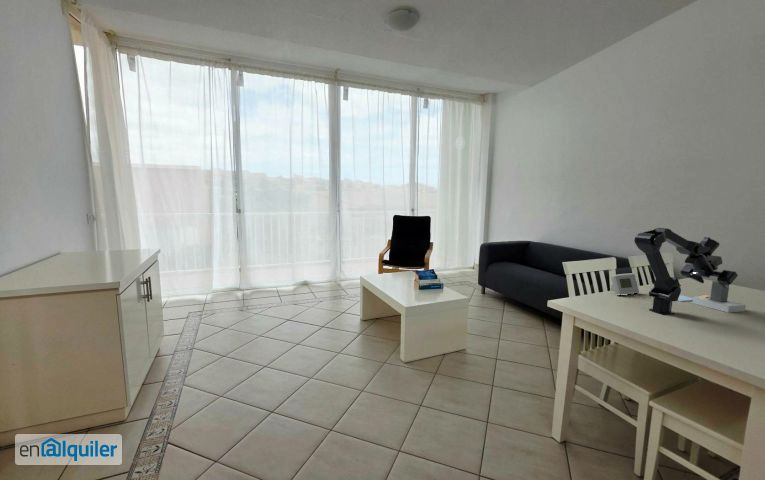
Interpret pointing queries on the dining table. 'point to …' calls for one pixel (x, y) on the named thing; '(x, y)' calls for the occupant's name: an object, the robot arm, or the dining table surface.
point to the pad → (683, 298)
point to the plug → (718, 292)
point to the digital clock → (624, 284)
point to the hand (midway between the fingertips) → (715, 285)
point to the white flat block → (719, 304)
